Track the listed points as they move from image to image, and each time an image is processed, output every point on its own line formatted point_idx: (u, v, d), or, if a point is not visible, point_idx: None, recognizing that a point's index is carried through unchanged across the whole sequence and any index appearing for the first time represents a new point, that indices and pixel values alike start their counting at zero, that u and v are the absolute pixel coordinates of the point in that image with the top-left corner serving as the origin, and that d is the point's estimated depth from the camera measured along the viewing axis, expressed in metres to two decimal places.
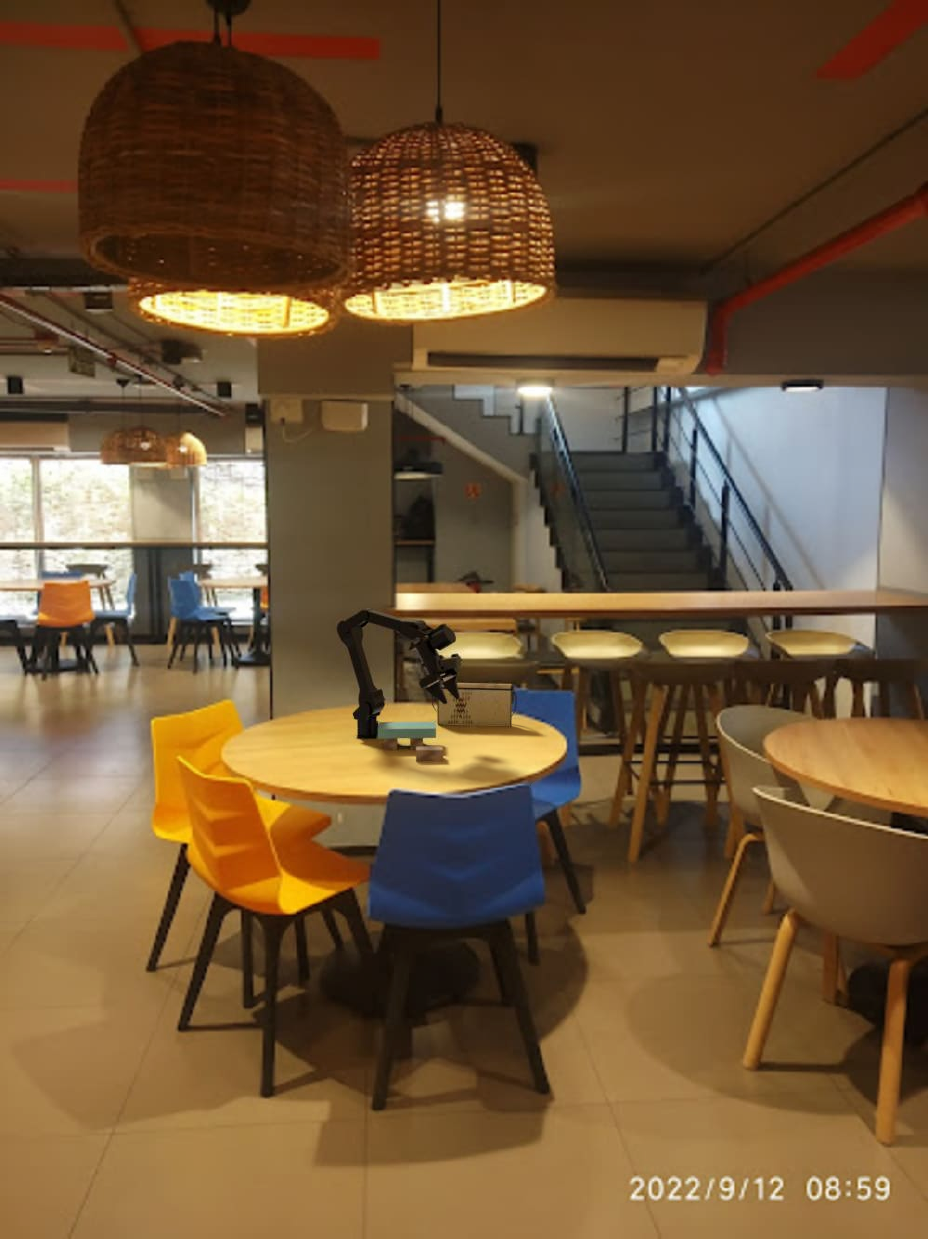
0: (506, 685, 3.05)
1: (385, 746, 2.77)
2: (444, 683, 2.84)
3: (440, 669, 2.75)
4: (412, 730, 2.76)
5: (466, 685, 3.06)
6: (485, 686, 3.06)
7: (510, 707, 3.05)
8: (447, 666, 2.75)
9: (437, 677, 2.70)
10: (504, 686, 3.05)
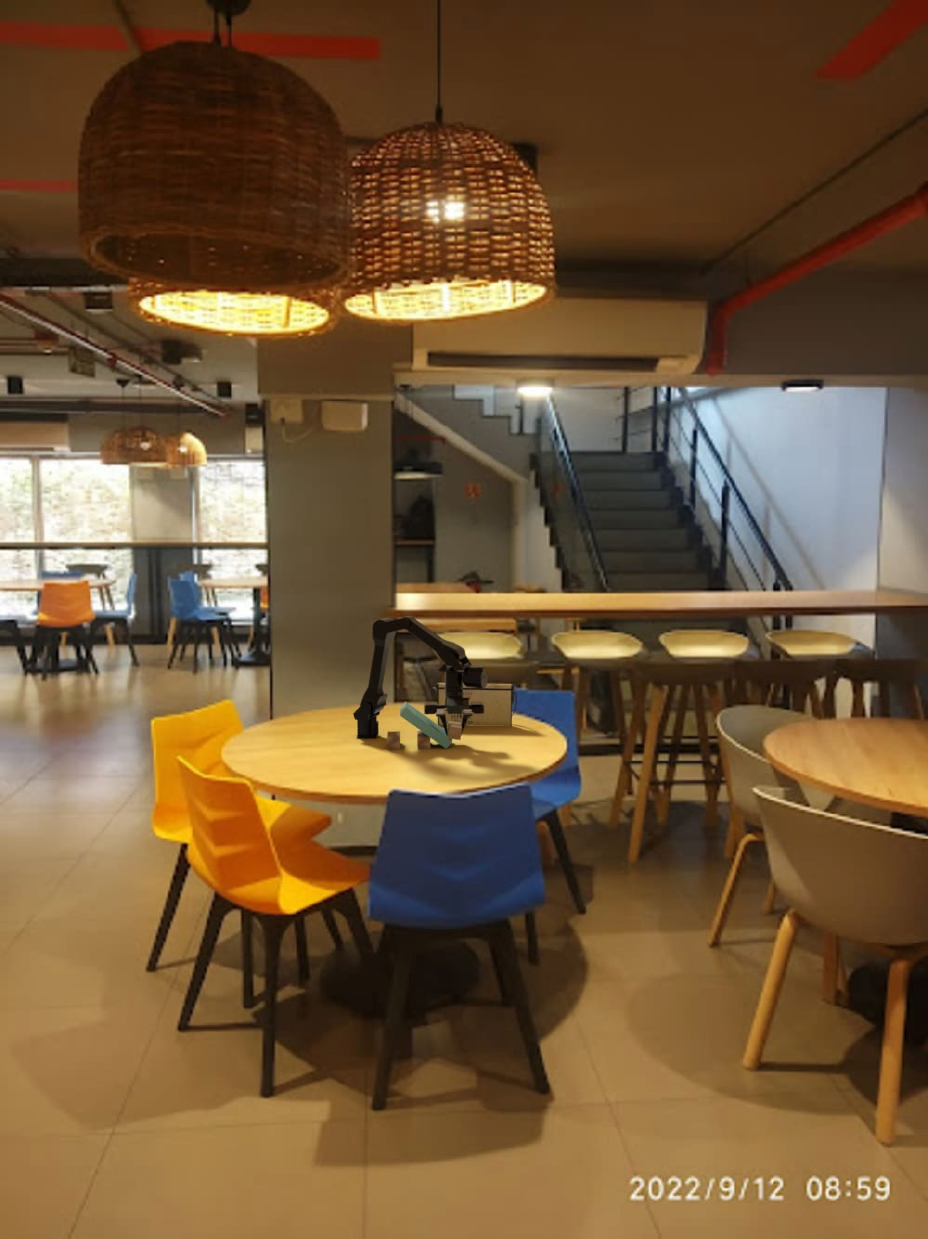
0: (506, 685, 3.05)
1: (388, 746, 2.77)
2: (462, 712, 2.83)
3: (445, 704, 2.78)
4: (432, 729, 2.77)
5: None
6: None
7: (510, 707, 3.05)
8: None
9: (429, 711, 2.77)
10: (504, 686, 3.05)
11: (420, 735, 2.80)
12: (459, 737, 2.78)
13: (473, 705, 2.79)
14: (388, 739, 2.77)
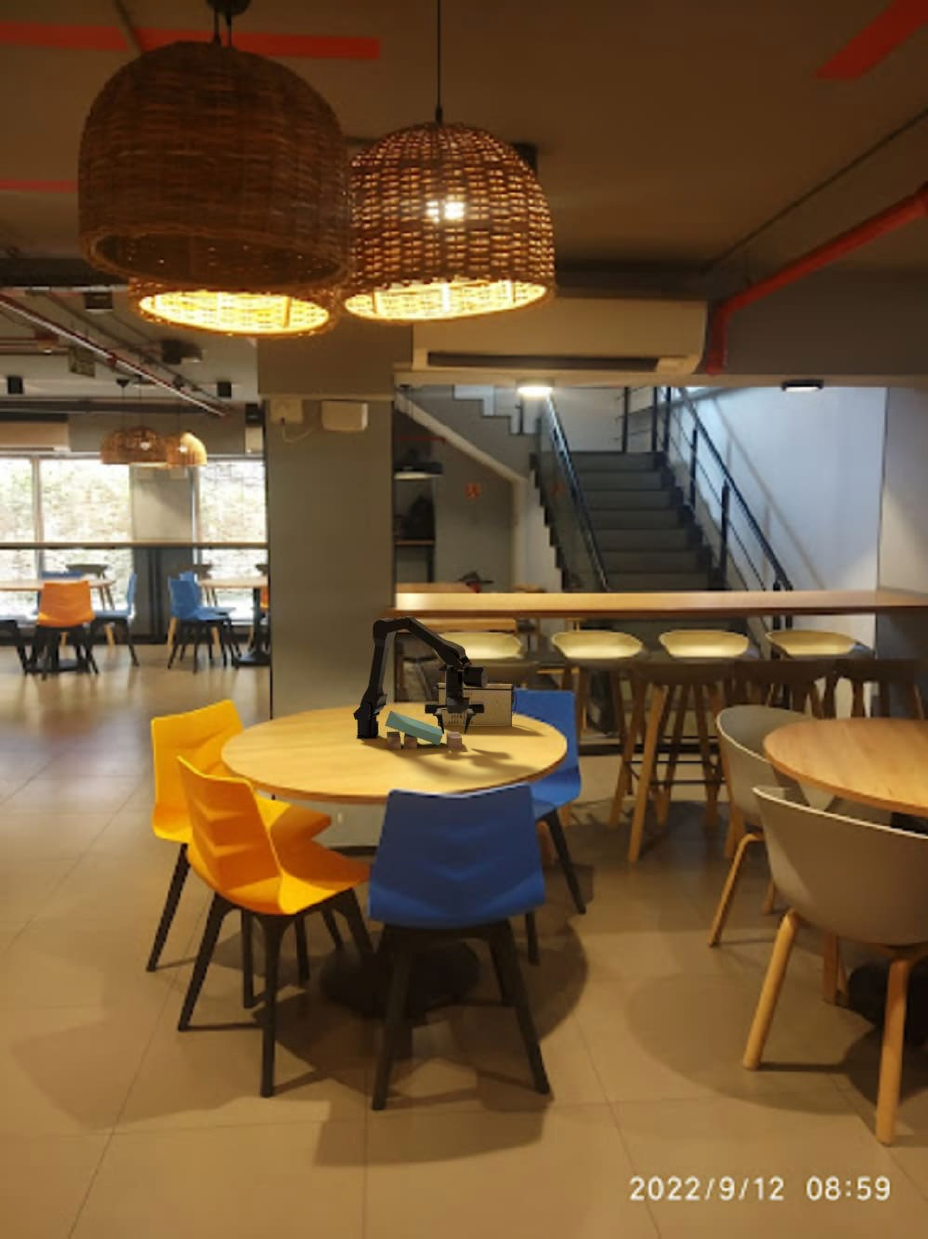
0: (506, 685, 3.05)
1: (389, 746, 2.77)
2: (466, 712, 2.83)
3: (445, 704, 2.78)
4: (419, 730, 2.78)
5: None
6: None
7: (511, 707, 3.05)
8: None
9: (429, 711, 2.77)
10: (504, 686, 3.05)
11: (407, 735, 2.80)
12: (460, 747, 2.79)
13: (473, 705, 2.79)
14: (389, 739, 2.77)
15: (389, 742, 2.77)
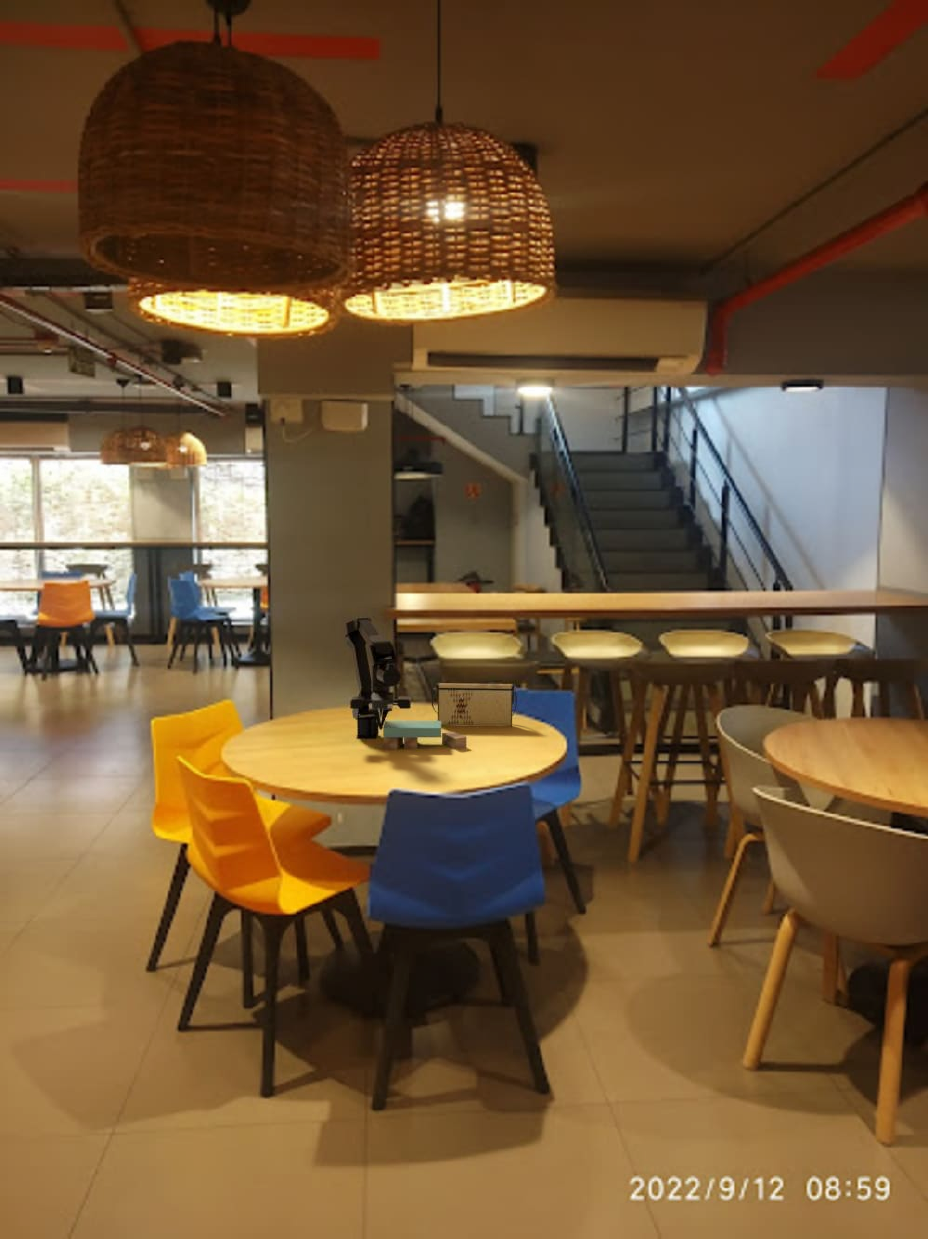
0: (507, 685, 3.05)
1: (385, 746, 2.78)
2: None
3: (371, 699, 2.76)
4: (417, 729, 2.77)
5: (467, 686, 3.05)
6: (485, 686, 3.05)
7: (511, 708, 3.05)
8: None
9: (354, 706, 2.76)
10: (505, 686, 3.05)
11: None
12: (465, 746, 2.80)
13: (399, 700, 2.77)
14: (385, 739, 2.77)
15: (385, 742, 2.77)
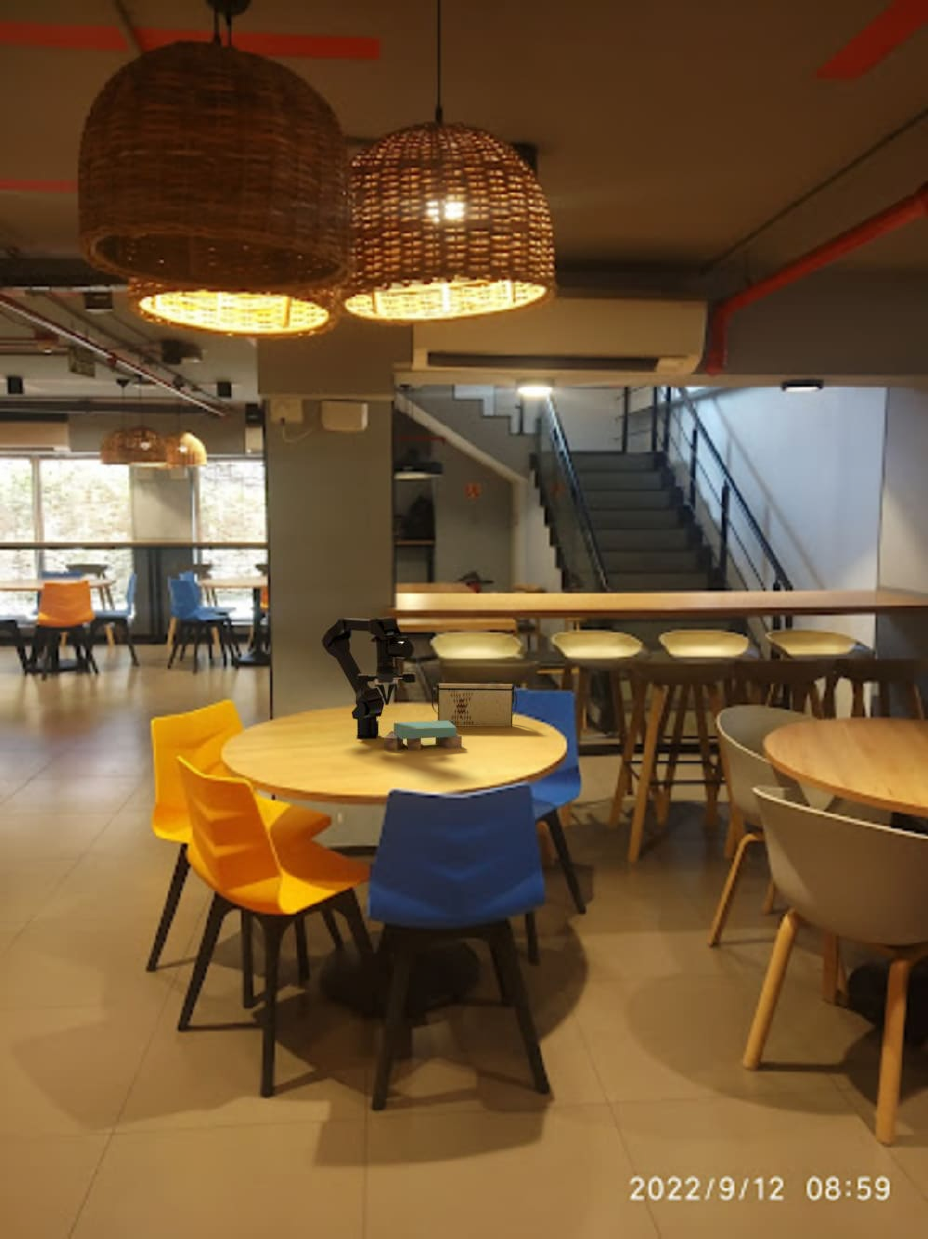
0: (507, 685, 3.05)
1: (385, 746, 2.77)
2: None
3: (376, 674, 2.82)
4: (434, 730, 2.78)
5: (467, 686, 3.05)
6: (486, 686, 3.05)
7: (511, 707, 3.05)
8: None
9: (360, 682, 2.81)
10: (505, 686, 3.05)
11: None
12: (460, 745, 2.81)
13: (404, 674, 2.83)
14: (385, 739, 2.77)
15: (385, 742, 2.77)
